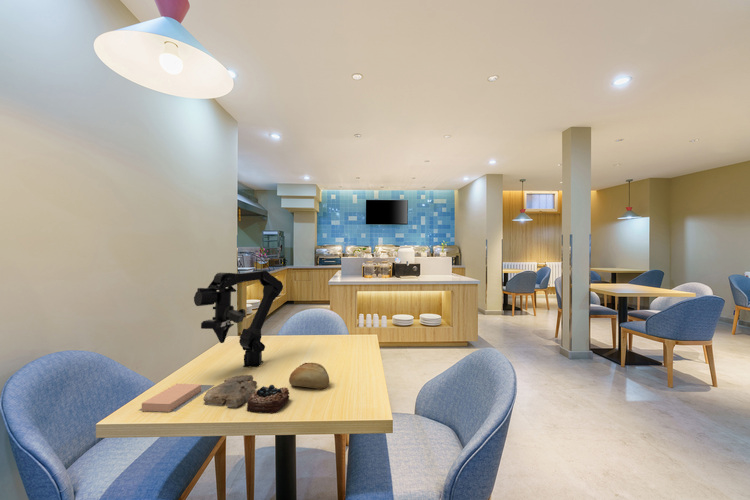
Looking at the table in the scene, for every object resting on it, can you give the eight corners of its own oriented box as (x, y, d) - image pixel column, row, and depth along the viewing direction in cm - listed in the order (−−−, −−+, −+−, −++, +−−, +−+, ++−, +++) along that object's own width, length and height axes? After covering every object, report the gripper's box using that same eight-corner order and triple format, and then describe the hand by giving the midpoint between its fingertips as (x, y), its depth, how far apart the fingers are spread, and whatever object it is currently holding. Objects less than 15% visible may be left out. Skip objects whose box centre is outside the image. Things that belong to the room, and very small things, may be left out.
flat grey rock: (231, 383, 119) (196, 407, 99) (232, 370, 119) (197, 391, 99) (267, 385, 118) (238, 410, 98) (268, 372, 118) (239, 394, 98)
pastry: (278, 415, 94) (278, 395, 94) (240, 412, 96) (241, 393, 96) (293, 399, 105) (293, 381, 105) (259, 397, 107) (259, 379, 107)
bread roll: (294, 380, 121) (294, 359, 121) (332, 382, 119) (332, 360, 119) (284, 390, 111) (284, 367, 112) (325, 392, 110) (325, 369, 110)
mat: (183, 385, 116) (183, 384, 116) (214, 386, 115) (214, 385, 115) (138, 411, 96) (138, 410, 96) (175, 413, 95) (175, 411, 95)
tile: (176, 383, 111) (141, 403, 96) (201, 384, 110) (169, 404, 95) (176, 390, 111) (141, 411, 96) (201, 391, 110) (169, 412, 95)
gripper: (228, 306, 117) (227, 349, 116) (253, 301, 136) (253, 338, 135) (200, 306, 119) (199, 348, 118) (229, 301, 137) (228, 337, 136)
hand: (222, 342), depth 127 cm, fingers closed
